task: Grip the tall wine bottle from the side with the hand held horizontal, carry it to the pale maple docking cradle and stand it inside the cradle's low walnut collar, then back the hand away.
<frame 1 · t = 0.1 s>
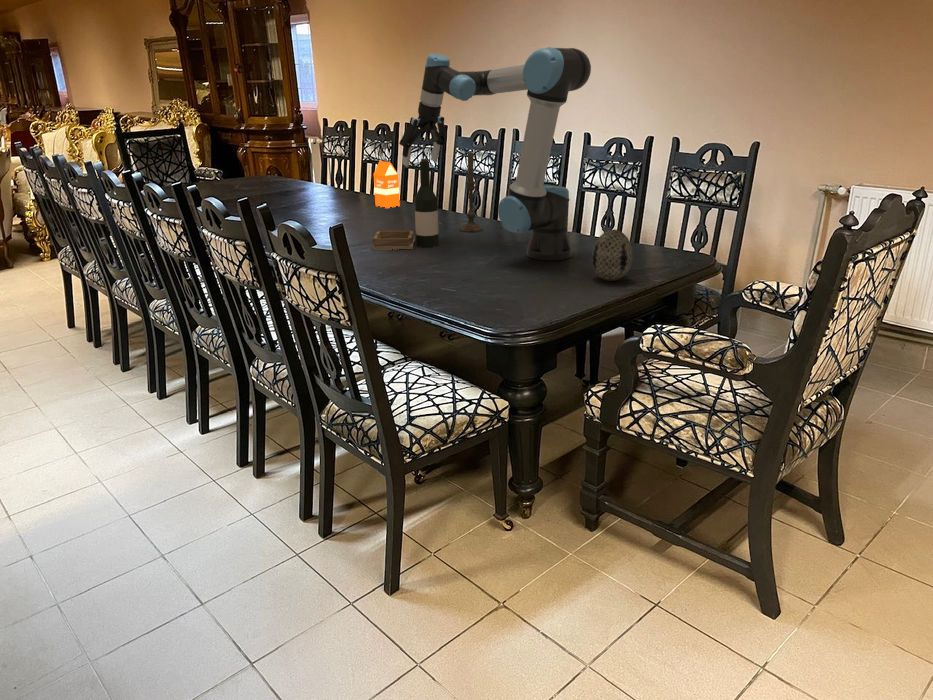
hand: (419, 163, 245), 28 cm above the table, tool tilted 20°, fingers open, 13 cm apart
wine bottle: (427, 245, 249), on the table
candlestick holder: (471, 230, 270), on the table
decorative egg: (610, 280, 204), on the table
orange juice: (387, 206, 320), on the table
dock: (394, 245, 249), on the table
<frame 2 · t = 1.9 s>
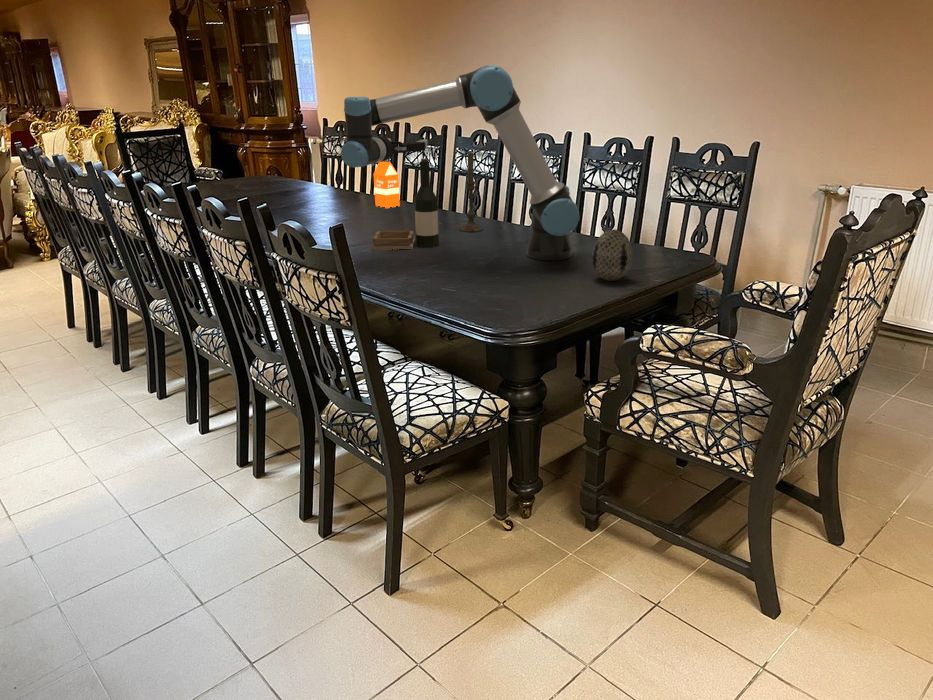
hand: (408, 143, 231), 36 cm above the table, tool horizontal, fingers open, 13 cm apart
nothing on the table moved.
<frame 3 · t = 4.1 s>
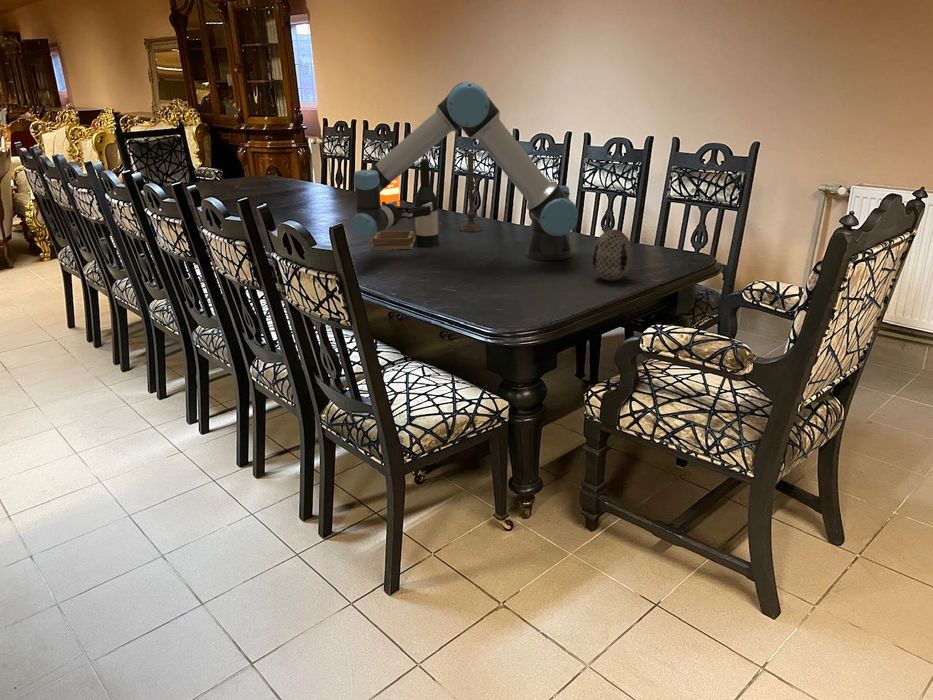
hand: (413, 205, 240), 15 cm above the table, tool horizontal, fingers open, 13 cm apart
nothing on the table moved.
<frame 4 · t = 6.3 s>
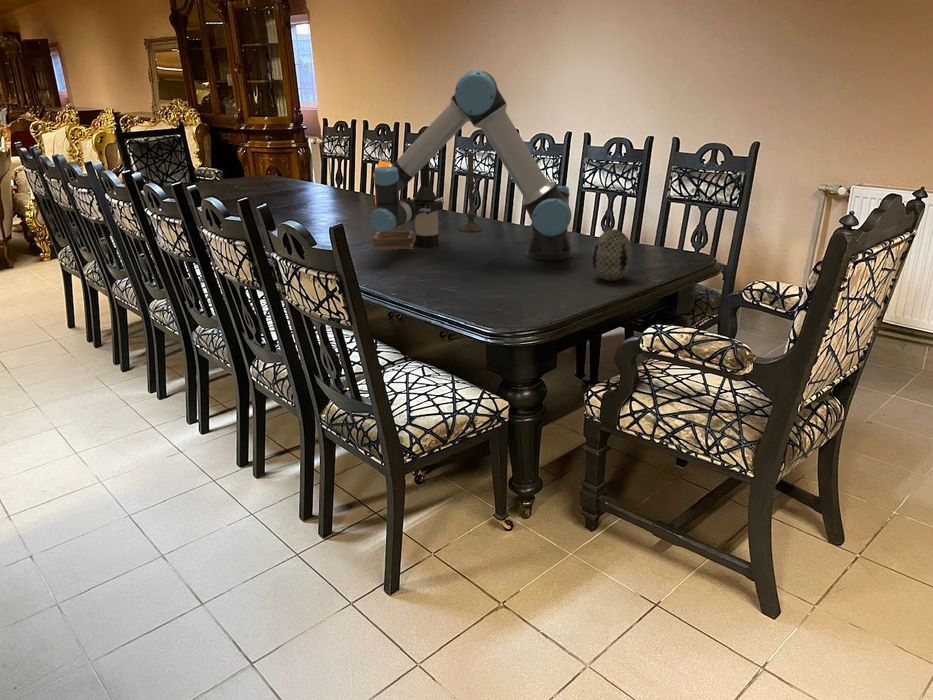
hand: (431, 200, 247), 15 cm above the table, tool horizontal, fingers closed on wine bottle, 8 cm apart
wine bottle: (427, 245, 249), on the table, touching gripper
everything else where it was.
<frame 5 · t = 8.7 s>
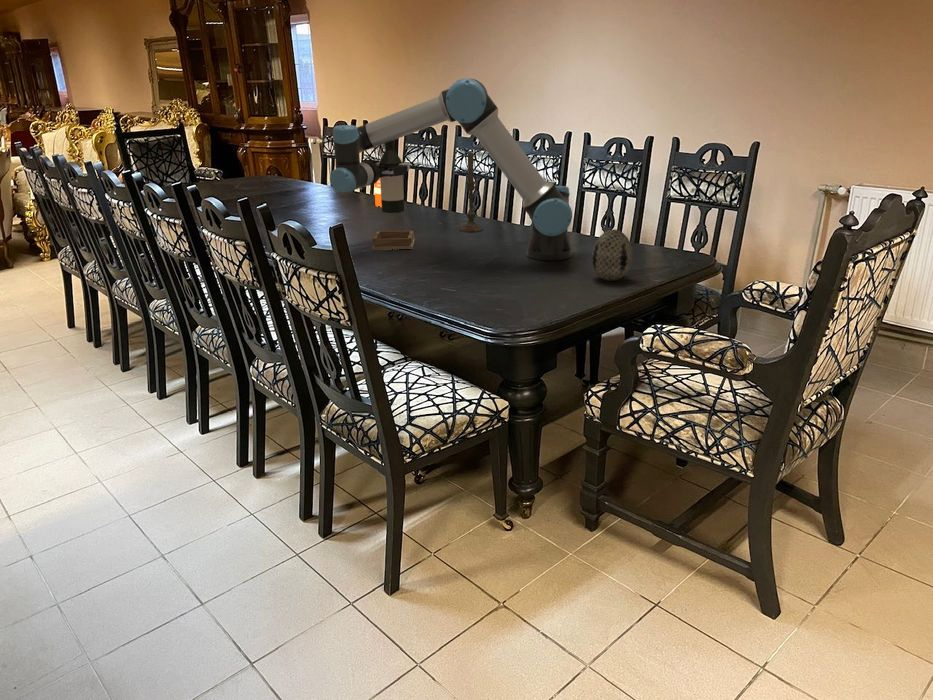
hand: (397, 165, 242), 27 cm above the table, tool horizontal, fingers closed on wine bottle, 8 cm apart
wine bottle: (393, 211, 244), point 12 cm above the table, touching gripper
everything else where it was.
when the fingers open (18 cm above the table, at t = 11.4 s): wine bottle drops 1 cm, resting on dock.
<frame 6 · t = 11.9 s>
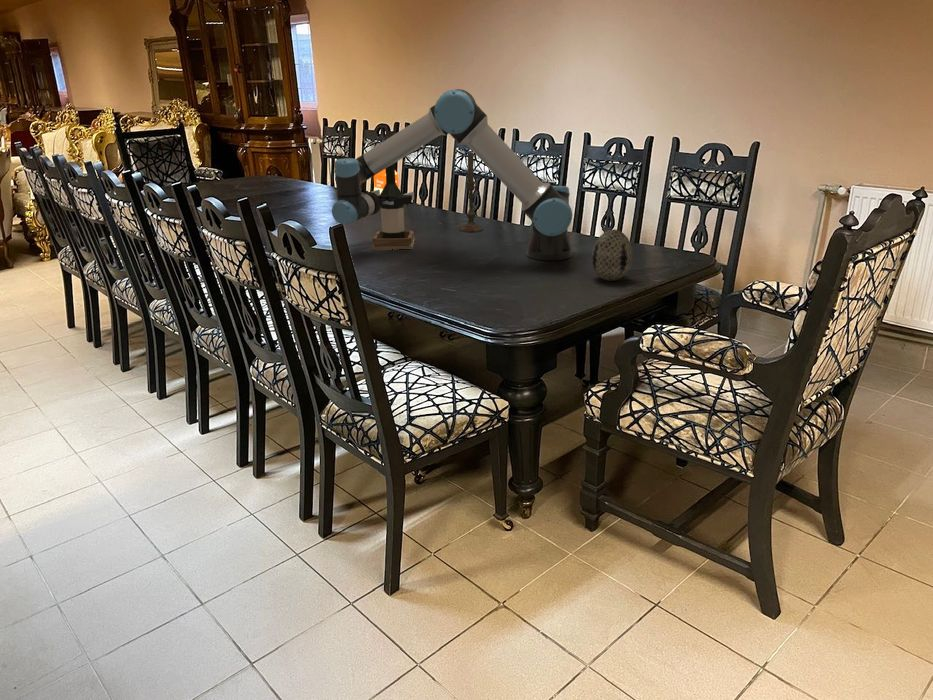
hand: (395, 194, 245), 18 cm above the table, tool horizontal, fingers open, 13 cm apart
wine bottle: (393, 242, 248), point 1 cm above the table, touching dock
everything else where it was.
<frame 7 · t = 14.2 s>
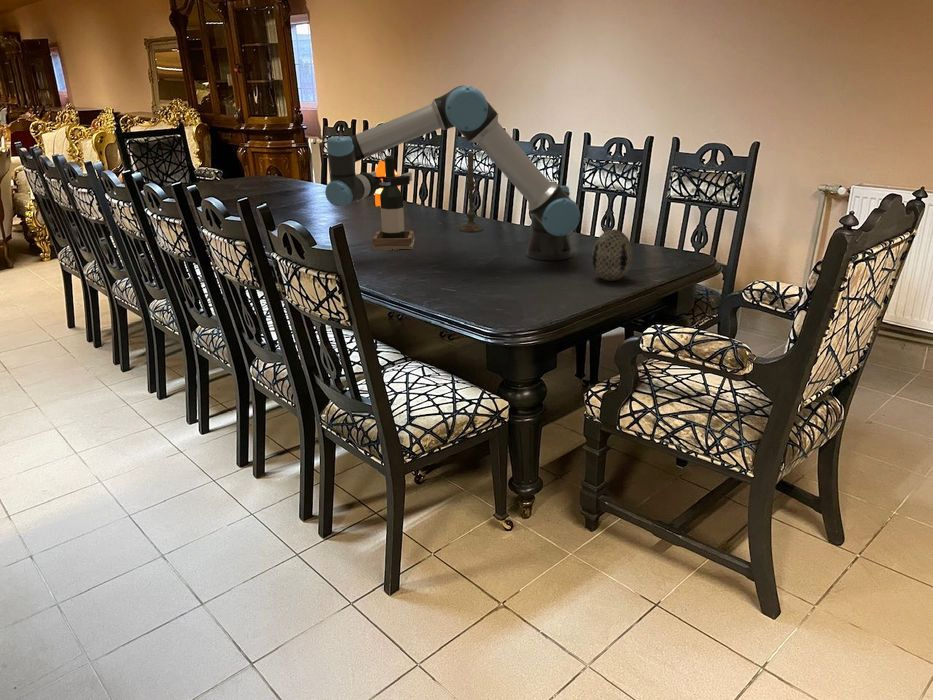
hand: (392, 175, 234), 25 cm above the table, tool horizontal, fingers open, 13 cm apart
nothing on the table moved.
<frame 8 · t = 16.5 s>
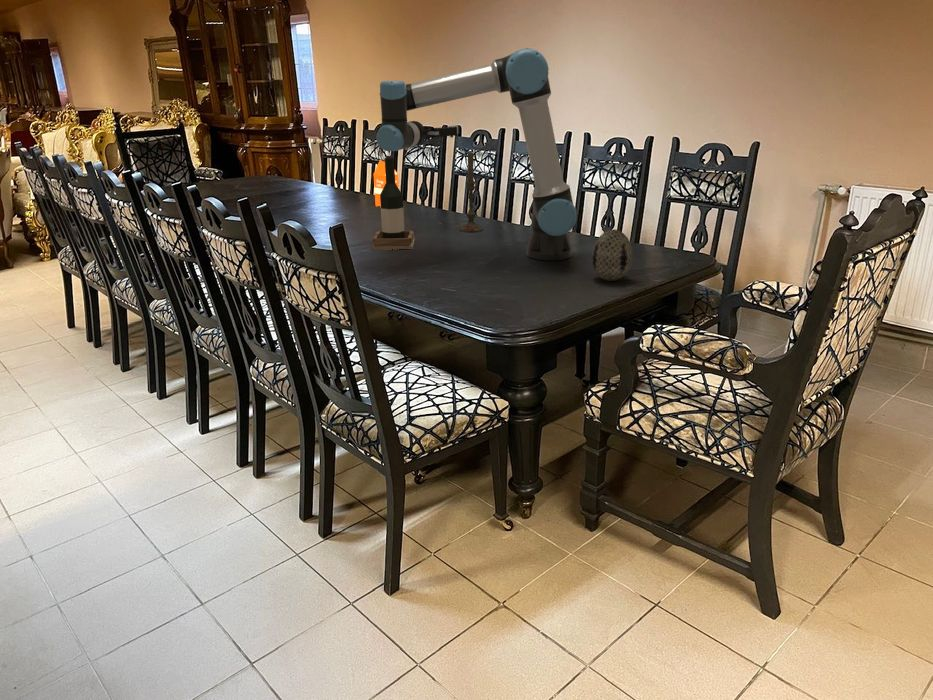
hand: (438, 128, 232), 40 cm above the table, tool horizontal, fingers open, 13 cm apart
nothing on the table moved.
at the end: wine bottle inside the target area on the dock (0.1 cm from its centre), point 1.0 cm above the dock's base; wine bottle tilted 0°; the gripper is holding nothing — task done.
